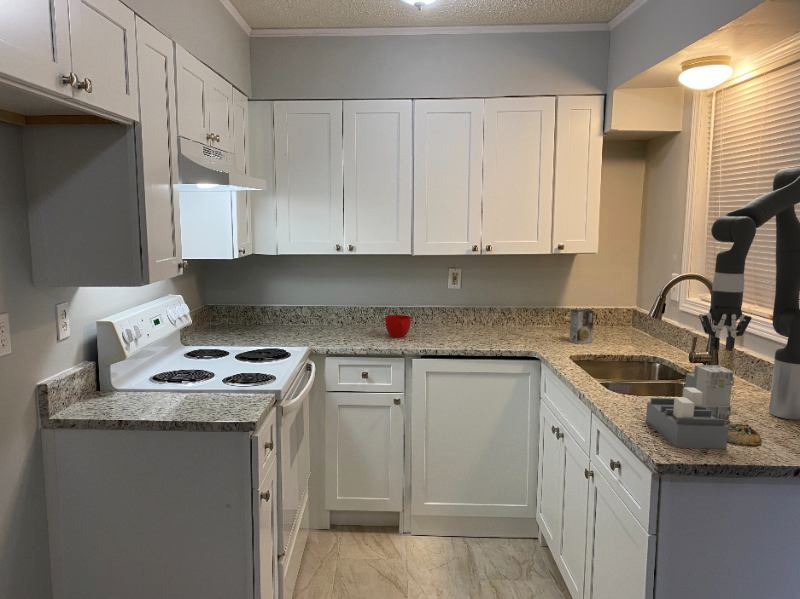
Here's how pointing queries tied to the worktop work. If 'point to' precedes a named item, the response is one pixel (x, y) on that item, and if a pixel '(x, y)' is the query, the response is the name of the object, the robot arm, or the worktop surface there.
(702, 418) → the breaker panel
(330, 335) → the worktop surface
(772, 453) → the worktop surface
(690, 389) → the block
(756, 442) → the bread roll
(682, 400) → the breaker
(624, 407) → the worktop surface
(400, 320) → the ceramic cup
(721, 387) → the circuit breaker
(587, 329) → the coffee box
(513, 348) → the worktop surface
